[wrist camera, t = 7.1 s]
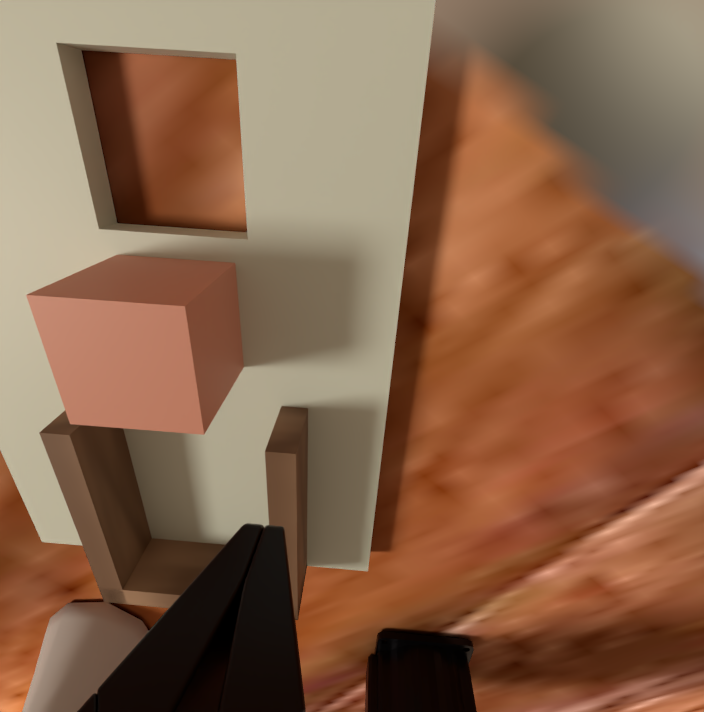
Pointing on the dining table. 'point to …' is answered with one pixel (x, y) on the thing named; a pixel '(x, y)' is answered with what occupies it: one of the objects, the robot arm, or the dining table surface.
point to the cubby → (128, 519)
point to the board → (227, 245)
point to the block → (143, 341)
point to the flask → (80, 654)
